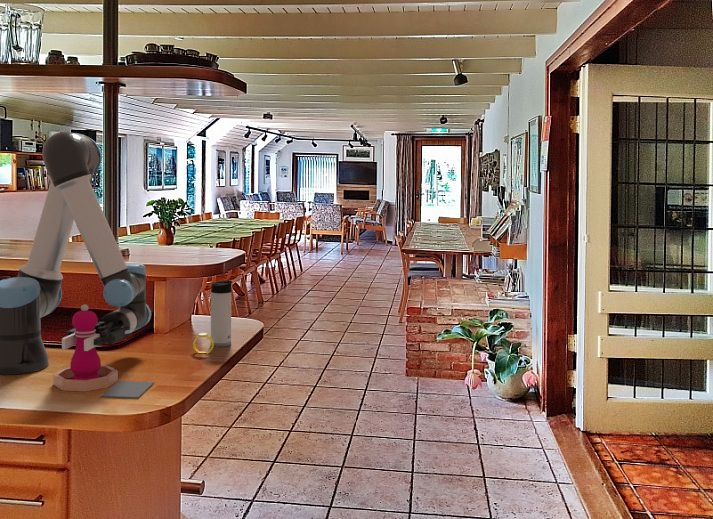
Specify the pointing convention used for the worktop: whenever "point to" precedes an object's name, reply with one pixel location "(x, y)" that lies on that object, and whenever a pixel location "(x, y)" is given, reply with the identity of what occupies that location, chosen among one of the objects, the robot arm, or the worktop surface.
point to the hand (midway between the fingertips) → (74, 344)
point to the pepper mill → (83, 361)
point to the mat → (127, 389)
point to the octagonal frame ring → (85, 385)
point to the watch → (203, 336)
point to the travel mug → (221, 313)
